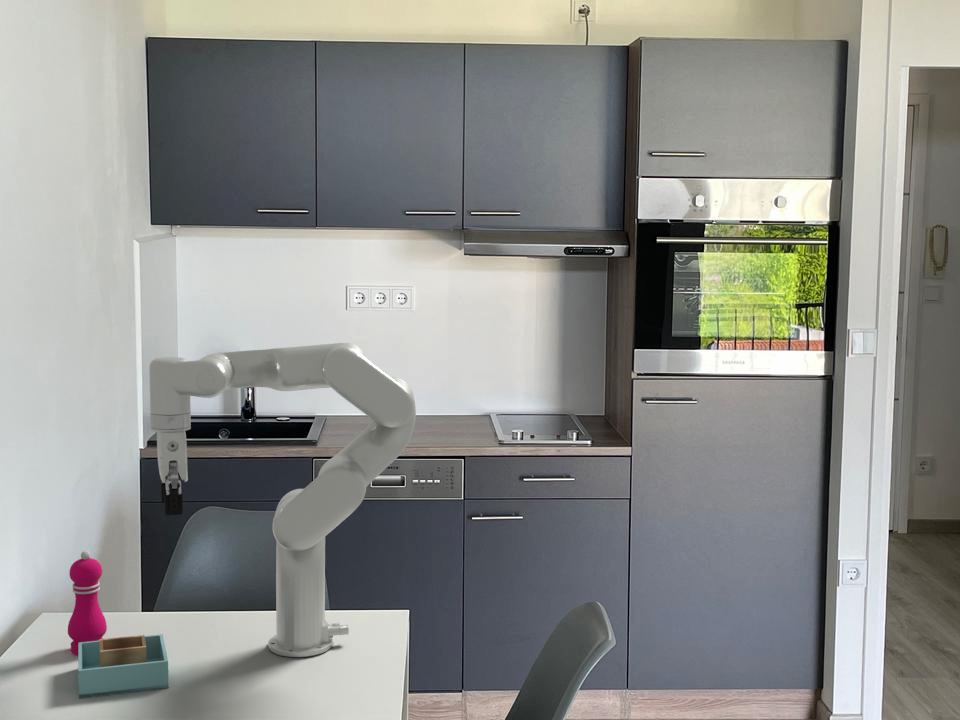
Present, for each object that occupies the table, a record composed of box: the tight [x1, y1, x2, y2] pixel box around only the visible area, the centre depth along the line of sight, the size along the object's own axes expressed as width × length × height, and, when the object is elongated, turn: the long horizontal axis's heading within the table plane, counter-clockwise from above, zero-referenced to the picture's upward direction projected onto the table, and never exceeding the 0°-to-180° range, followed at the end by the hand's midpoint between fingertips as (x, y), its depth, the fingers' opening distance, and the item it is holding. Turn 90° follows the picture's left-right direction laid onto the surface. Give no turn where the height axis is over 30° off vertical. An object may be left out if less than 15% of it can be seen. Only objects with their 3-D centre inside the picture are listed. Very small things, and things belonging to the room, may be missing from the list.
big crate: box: [77, 633, 169, 699], centre depth 205 cm, size 15×14×5 cm
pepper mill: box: [67, 550, 108, 657], centre depth 217 cm, size 7×7×20 cm
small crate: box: [99, 634, 147, 667], centre depth 205 cm, size 8×6×6 cm
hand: (171, 508), depth 216 cm, fingers open, 9 cm apart
